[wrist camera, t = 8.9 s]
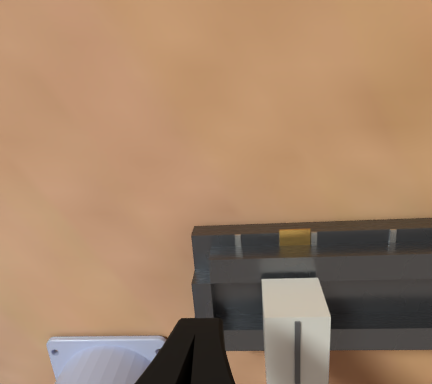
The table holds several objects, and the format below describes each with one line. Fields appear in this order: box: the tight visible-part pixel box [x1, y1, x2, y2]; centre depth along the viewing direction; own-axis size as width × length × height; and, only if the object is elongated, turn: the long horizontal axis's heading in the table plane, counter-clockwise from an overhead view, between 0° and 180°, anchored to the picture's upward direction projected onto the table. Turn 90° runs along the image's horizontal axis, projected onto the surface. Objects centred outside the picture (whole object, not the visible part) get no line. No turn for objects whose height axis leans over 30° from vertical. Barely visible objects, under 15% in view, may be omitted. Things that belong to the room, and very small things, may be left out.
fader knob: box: [262, 278, 331, 384], centre depth 19 cm, size 4×3×5 cm
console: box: [191, 218, 432, 351], centre depth 21 cm, size 8×21×3 cm, turn 94°
